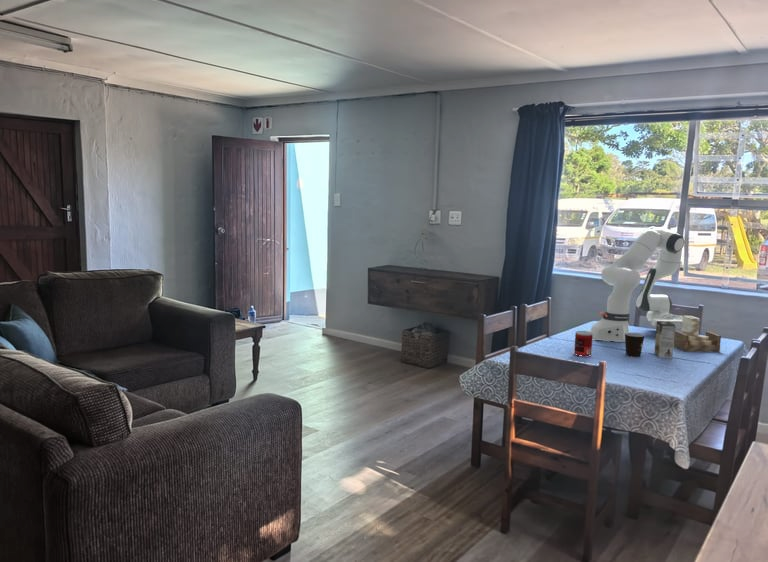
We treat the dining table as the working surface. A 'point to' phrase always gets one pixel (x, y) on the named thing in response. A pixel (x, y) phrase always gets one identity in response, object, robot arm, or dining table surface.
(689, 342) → the front plywood offcut
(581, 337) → the canned food
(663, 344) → the coffee box
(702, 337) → the back plywood offcut
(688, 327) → the pale wood block
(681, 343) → the walnut rack
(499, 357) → the dining table surface
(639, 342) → the brown paper cup
